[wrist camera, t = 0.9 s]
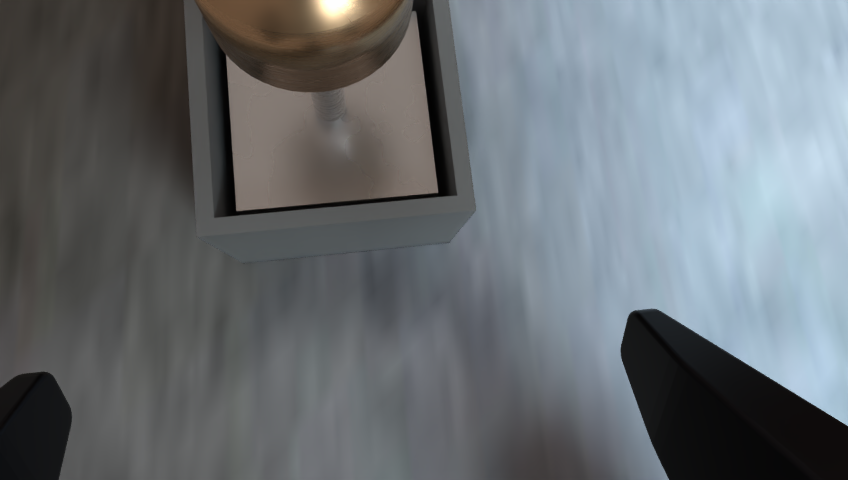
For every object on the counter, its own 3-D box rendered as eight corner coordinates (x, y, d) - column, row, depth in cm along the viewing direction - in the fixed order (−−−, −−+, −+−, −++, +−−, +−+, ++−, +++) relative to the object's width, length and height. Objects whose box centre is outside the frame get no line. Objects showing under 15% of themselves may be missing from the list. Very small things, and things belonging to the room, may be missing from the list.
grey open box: (449, 242, 23) (476, 210, 17) (243, 263, 22) (196, 237, 16) (422, 28, 24) (439, -70, 18) (228, 40, 24) (180, -59, 18)
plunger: (436, 197, 19) (494, 70, 10) (240, 215, 18) (112, 96, 9) (414, 21, 20) (450, -242, 11) (228, 31, 19) (101, -238, 10)
